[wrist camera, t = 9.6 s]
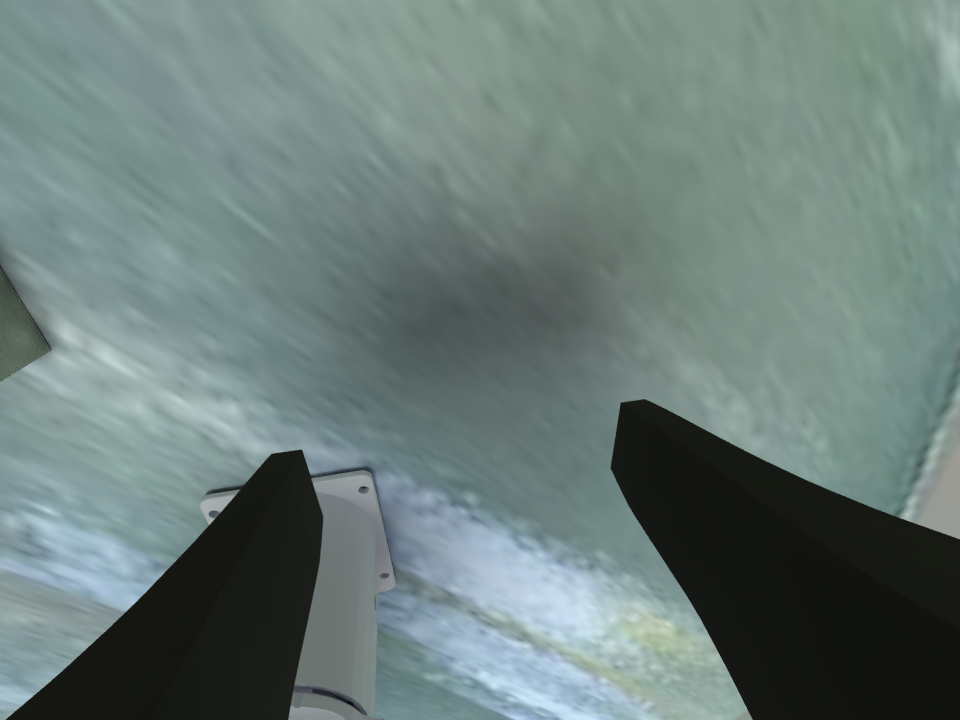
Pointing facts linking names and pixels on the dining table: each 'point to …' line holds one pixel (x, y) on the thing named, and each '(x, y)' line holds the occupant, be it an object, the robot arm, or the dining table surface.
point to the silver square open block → (17, 333)
